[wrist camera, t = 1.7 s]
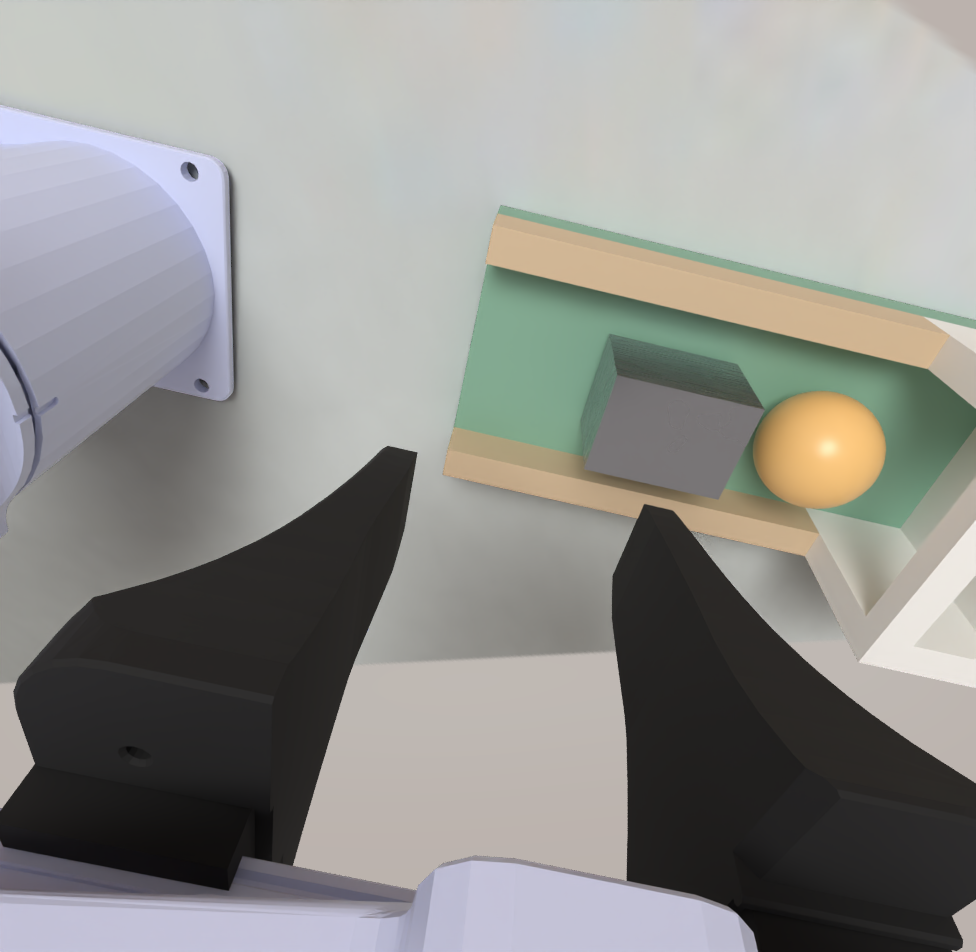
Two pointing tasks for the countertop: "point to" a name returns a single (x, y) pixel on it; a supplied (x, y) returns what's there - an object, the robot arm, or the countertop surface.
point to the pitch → (774, 378)
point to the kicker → (667, 417)
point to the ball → (819, 449)
